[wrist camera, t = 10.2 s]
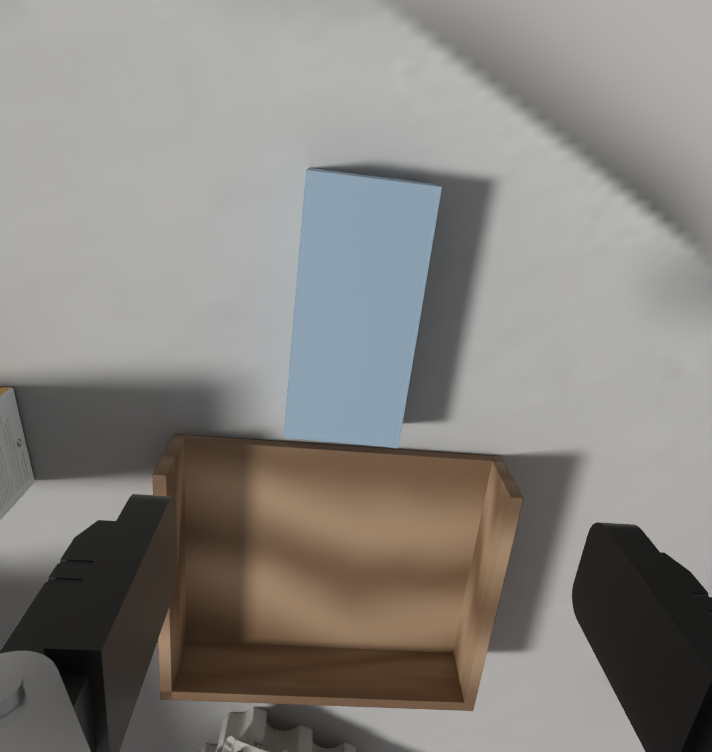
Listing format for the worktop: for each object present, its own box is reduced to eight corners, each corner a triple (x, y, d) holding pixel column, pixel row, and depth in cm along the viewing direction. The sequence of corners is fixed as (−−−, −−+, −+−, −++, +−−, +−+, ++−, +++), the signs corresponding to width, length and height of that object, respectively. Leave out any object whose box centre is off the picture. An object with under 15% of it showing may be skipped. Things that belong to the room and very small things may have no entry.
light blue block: (309, 167, 26) (306, 169, 23) (431, 182, 26) (442, 187, 23) (288, 410, 30) (283, 437, 27) (393, 420, 31) (398, 448, 28)
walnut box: (174, 434, 30) (152, 474, 26) (500, 456, 31) (523, 498, 27) (178, 640, 35) (160, 699, 31) (458, 652, 36) (473, 710, 33)
